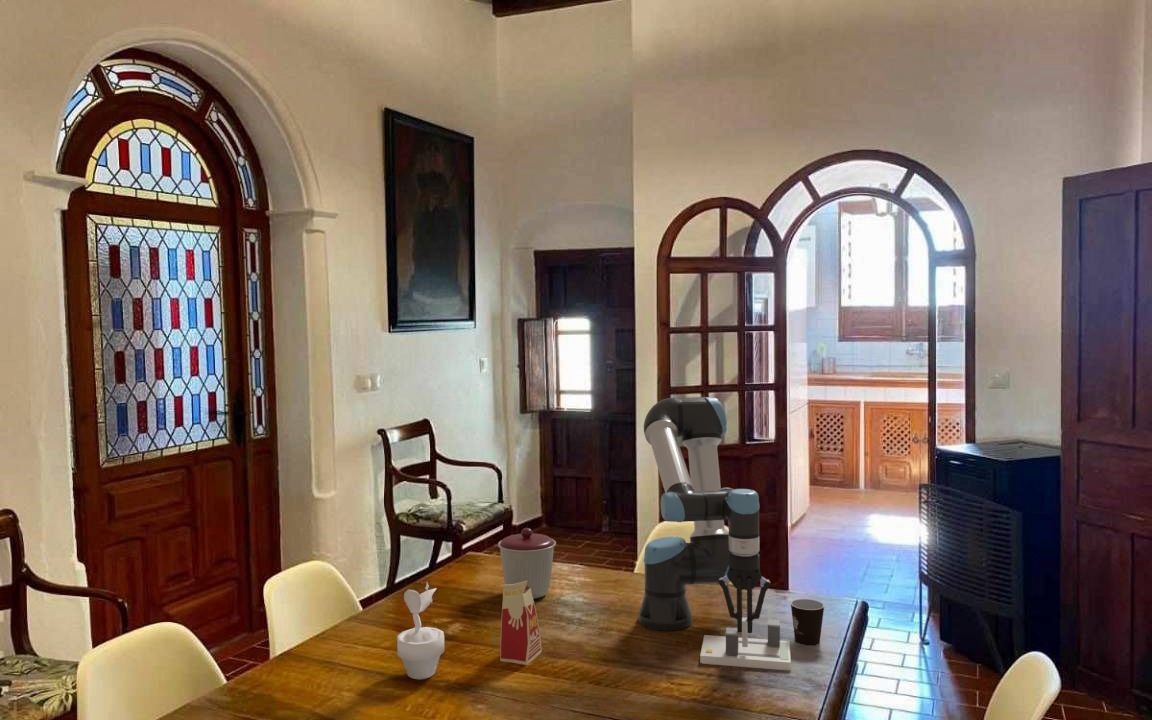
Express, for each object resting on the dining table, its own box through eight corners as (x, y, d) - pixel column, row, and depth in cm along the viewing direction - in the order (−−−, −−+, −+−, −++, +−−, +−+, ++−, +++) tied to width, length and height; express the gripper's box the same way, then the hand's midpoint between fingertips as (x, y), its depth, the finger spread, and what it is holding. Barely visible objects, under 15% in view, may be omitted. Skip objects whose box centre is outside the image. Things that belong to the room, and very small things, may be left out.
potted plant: (423, 689, 202) (421, 584, 200) (387, 678, 208) (384, 576, 206) (458, 669, 212) (456, 570, 211) (422, 660, 218) (420, 563, 217)
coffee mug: (825, 648, 223) (825, 610, 223) (791, 646, 225) (791, 608, 224) (821, 632, 234) (821, 596, 234) (789, 630, 236) (789, 594, 236)
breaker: (767, 645, 219) (767, 624, 219) (767, 639, 223) (767, 619, 223) (779, 646, 219) (779, 625, 218) (779, 640, 223) (779, 619, 222)
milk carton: (541, 651, 223) (540, 576, 222) (528, 665, 214) (527, 587, 213) (509, 647, 226) (508, 573, 225) (495, 661, 217) (493, 583, 216)
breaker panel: (700, 663, 214) (700, 654, 214) (704, 642, 228) (704, 634, 228) (790, 670, 210) (790, 661, 209) (789, 648, 223) (789, 640, 223)
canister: (555, 604, 259) (554, 535, 258) (495, 604, 259) (494, 536, 258) (557, 585, 277) (556, 521, 276) (501, 585, 278) (500, 521, 276)
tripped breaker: (725, 654, 214) (725, 633, 214) (726, 648, 218) (726, 627, 217) (737, 655, 213) (737, 634, 213) (738, 649, 217) (738, 628, 217)
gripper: (717, 555, 211) (718, 649, 213) (770, 557, 208) (771, 652, 210) (718, 547, 219) (719, 637, 220) (770, 549, 216) (771, 640, 217)
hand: (745, 644), depth 215 cm, fingers closed
